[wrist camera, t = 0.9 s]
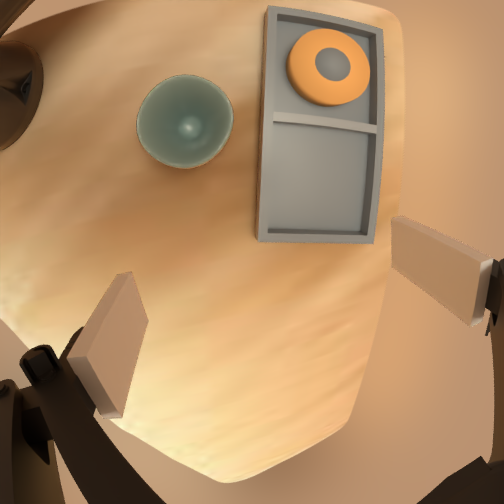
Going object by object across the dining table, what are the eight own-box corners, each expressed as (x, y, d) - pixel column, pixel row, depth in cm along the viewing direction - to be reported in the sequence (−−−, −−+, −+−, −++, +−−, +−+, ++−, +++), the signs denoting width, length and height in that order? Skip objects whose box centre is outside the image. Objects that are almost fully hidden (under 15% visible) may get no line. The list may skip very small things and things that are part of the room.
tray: (264, 14, 28) (268, 5, 26) (373, 34, 30) (382, 29, 27) (255, 236, 36) (257, 242, 34) (364, 238, 38) (373, 243, 36)
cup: (183, 84, 30) (171, 58, 21) (242, 119, 32) (252, 105, 23) (144, 143, 32) (118, 139, 22) (203, 177, 34) (198, 186, 24)
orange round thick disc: (269, 59, 30) (274, 50, 27) (328, 26, 29) (337, 16, 26) (317, 121, 32) (327, 118, 29) (372, 84, 32) (384, 79, 29)
